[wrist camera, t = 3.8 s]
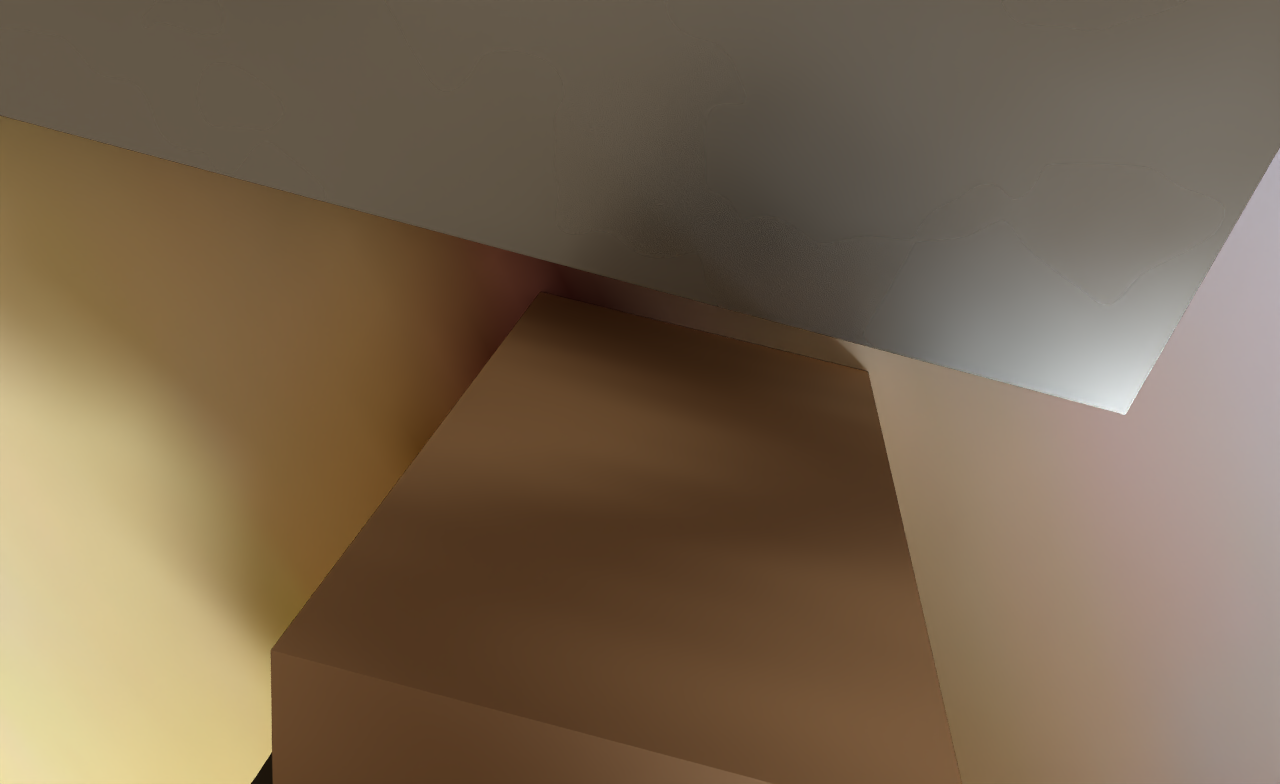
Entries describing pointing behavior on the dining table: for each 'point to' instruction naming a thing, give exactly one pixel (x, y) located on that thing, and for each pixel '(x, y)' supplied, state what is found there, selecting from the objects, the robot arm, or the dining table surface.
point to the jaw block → (625, 581)
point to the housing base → (734, 147)
